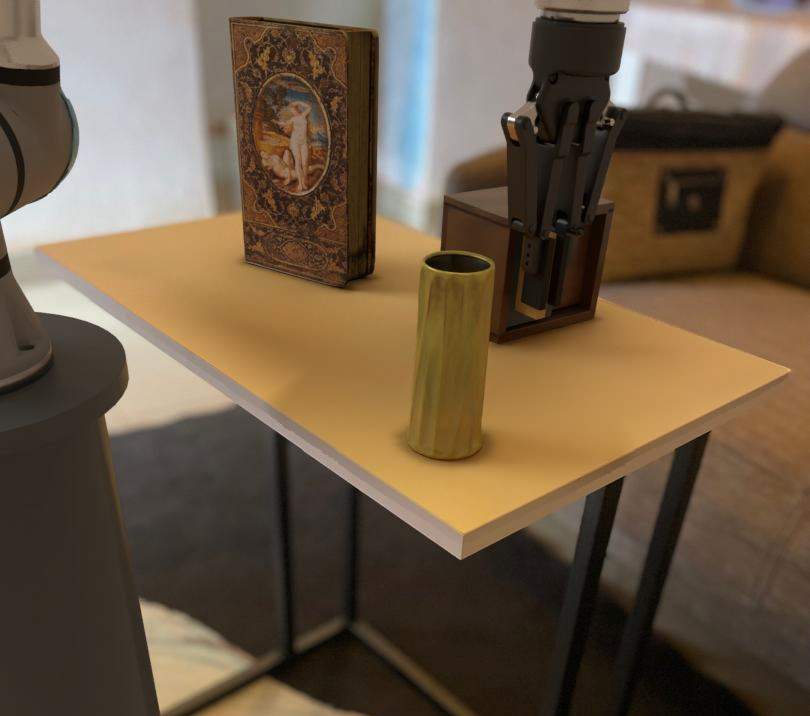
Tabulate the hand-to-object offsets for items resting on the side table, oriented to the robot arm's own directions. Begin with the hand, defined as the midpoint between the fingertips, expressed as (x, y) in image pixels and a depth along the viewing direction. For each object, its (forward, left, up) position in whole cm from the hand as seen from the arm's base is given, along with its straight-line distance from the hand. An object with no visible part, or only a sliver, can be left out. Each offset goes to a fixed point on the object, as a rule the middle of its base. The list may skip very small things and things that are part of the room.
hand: (540, 303), depth 81 cm
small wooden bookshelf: (-7, +4, -4) cm, 10 cm away
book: (-31, -8, -5) cm, 33 cm away
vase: (+11, -20, -5) cm, 23 cm away
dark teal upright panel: (-2, +2, -3) cm, 4 cm away
